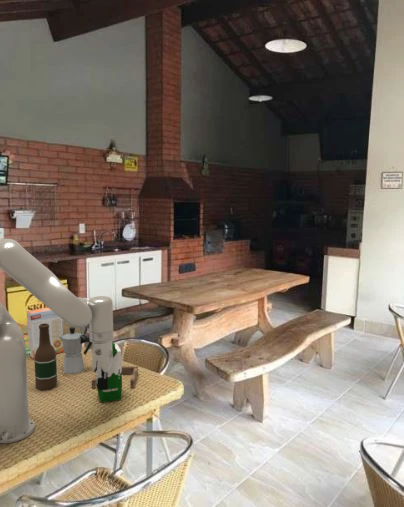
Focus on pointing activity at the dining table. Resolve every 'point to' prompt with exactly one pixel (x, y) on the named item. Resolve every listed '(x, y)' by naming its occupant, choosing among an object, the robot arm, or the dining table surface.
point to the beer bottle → (45, 361)
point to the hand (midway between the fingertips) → (102, 388)
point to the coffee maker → (74, 351)
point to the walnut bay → (125, 371)
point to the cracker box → (33, 324)
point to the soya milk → (113, 378)
